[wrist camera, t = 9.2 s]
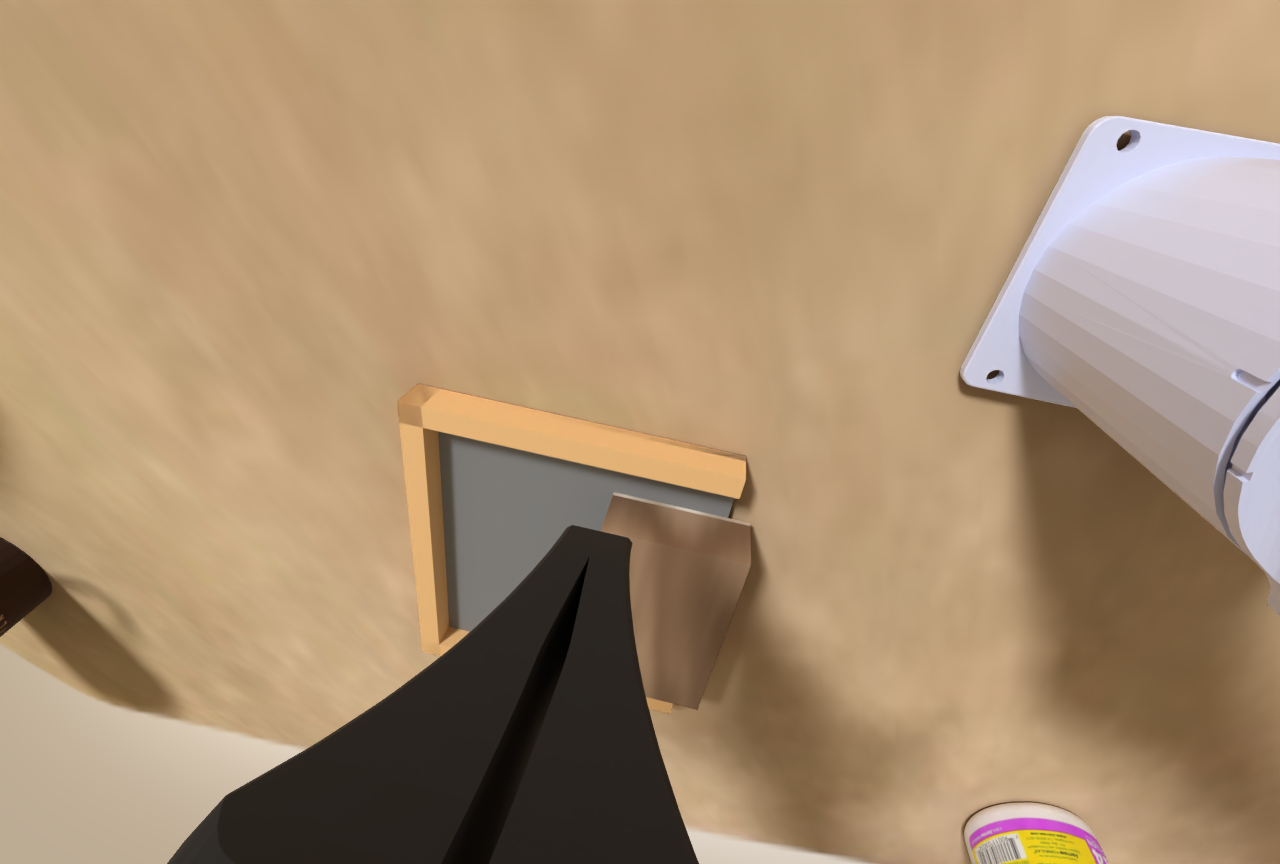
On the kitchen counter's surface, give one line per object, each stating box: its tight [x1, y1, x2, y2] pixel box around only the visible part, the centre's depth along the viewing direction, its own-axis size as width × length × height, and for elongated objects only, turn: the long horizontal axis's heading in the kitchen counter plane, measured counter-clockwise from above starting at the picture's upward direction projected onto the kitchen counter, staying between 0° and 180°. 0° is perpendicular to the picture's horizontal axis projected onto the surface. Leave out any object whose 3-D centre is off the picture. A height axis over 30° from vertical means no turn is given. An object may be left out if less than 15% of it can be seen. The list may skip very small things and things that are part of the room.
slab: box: [601, 492, 751, 710], centre depth 24 cm, size 2×10×6 cm
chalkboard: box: [397, 384, 746, 714], centre depth 25 cm, size 14×16×2 cm
